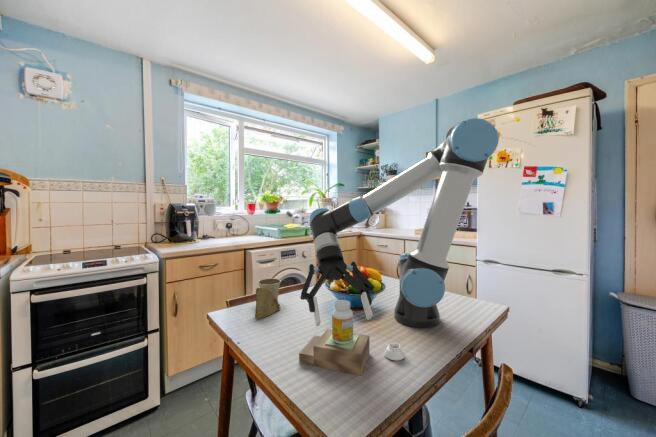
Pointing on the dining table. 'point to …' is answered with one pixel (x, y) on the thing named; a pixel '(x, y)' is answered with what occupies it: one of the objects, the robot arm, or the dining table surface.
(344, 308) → the supplement bottle
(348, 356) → the step stand
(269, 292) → the rock
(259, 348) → the dining table surface
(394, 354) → the lidless jar
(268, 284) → the flower pot
